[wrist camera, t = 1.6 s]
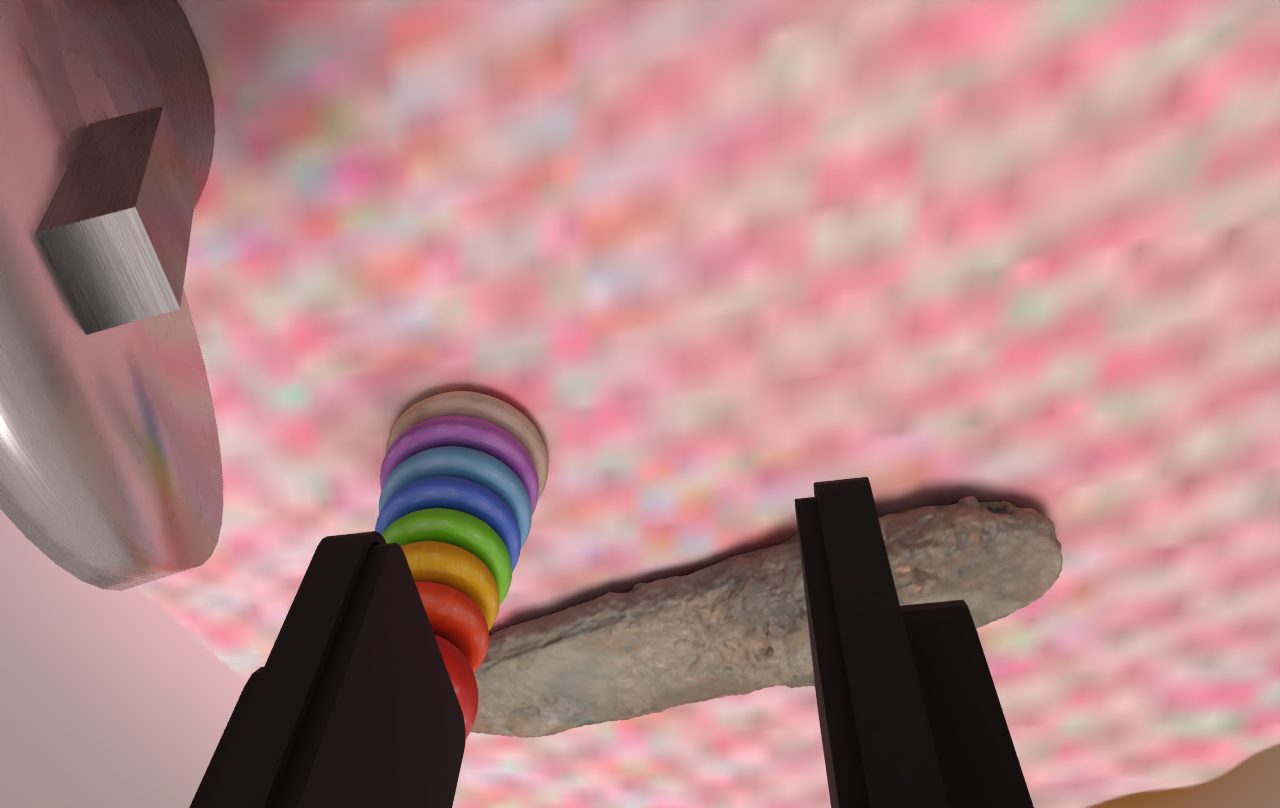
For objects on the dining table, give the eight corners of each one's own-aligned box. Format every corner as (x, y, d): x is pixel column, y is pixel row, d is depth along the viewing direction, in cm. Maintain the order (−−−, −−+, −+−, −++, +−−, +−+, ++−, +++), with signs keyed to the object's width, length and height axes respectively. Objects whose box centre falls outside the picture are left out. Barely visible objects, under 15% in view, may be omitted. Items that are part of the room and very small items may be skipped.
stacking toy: (479, 537, 57) (401, 854, 41) (359, 447, 54) (224, 750, 38) (582, 454, 53) (541, 762, 38) (461, 353, 50) (360, 641, 35)
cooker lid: (-433, -177, 14) (-133, -229, 14) (-79, -186, 29) (60, -212, 29) (141, 753, 23) (306, 695, 24) (182, 381, 38) (283, 353, 39)
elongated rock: (413, 608, 62) (493, 711, 67) (390, 681, 58) (478, 786, 63) (1031, 443, 52) (1068, 580, 57) (1058, 518, 48) (1096, 658, 53)
